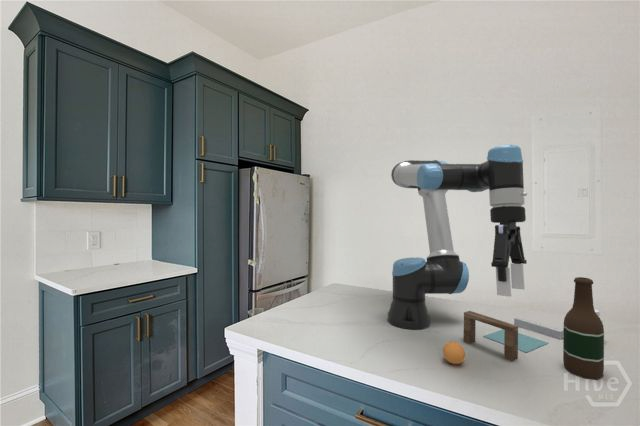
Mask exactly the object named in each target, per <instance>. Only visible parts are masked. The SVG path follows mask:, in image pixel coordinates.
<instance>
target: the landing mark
mask: <svg viewBox="0 0 640 426" xmlns="http://www.w3.org/2000/svg"><path fill="white" fill-rule="evenodd" d="M504 332H505V330H503V329H500V330H498V331H493V332H490V333H488V334H485V335H483V336H482V337H484V338H486V339H489V340H491V341H493V342H496V343H498V344H502V345H504ZM548 344H549V342H547V341H544V340H541V339H538V338H536V337H532V336H529V335H527V334H523V333H520V332H518V351H520V352H523V353H526V354H527V353H529V352H532V351H535V350H536V349H539V348H541V347H544V346H546V345H548Z"/></svg>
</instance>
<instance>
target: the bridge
mask: <svg viewBox="0 0 640 426" xmlns="http://www.w3.org/2000/svg"><path fill="white" fill-rule="evenodd" d="M476 321H477V322H481V323H484V324H486V325H489V326H492V327H495V328H497V329H500V330H505V332H504V344H503V346H504V347H503V348H504V351H503V352H504V354H503V355H504V358H503V359H504V360H507V361H509V362H515V361H517V360H518V359H519V350H518V333H519V327H518V326H517V325H514V323H509V322H507V321H503V320H500V319H497V318H494V317H491V316H487V315H484V314H481V313H478V312H474V311H471V310H468V311H465V312H464V311H463V342H464V343H466V344H469V345H470V344H474V343H476Z"/></svg>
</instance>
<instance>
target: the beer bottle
mask: <svg viewBox="0 0 640 426" xmlns="http://www.w3.org/2000/svg"><path fill="white" fill-rule="evenodd" d="M573 282H574V292H573V293H574V294H573V304H572V307H571V309H570V310H569V311H567V313H566V314H565V316H564V319H563V339H562V340H563V341H562V342H563V351H562V352H563V353H562V356H563V357H562V359H563V366H564V368H565V369H566V371H568V372H569V373H571V374H572V375H574V376H575V375H576V376H578V377H580V378H583V379H589V380H595V381H597V380H599V379H601V378H603V377H604V369H605V366H604V364H605V362H604V361H605V330H604V324H602V322H603V320H602V321H601V319H602V318H601V317H600V315H599V316H598V315H597V314H596V313H595V310H594V309H595V307H594V296H593V284H594V281H593V279H591V278H589V277H582V276H579V277H578V276H577V277H574V279H573ZM600 318H601V319H600Z"/></svg>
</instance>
